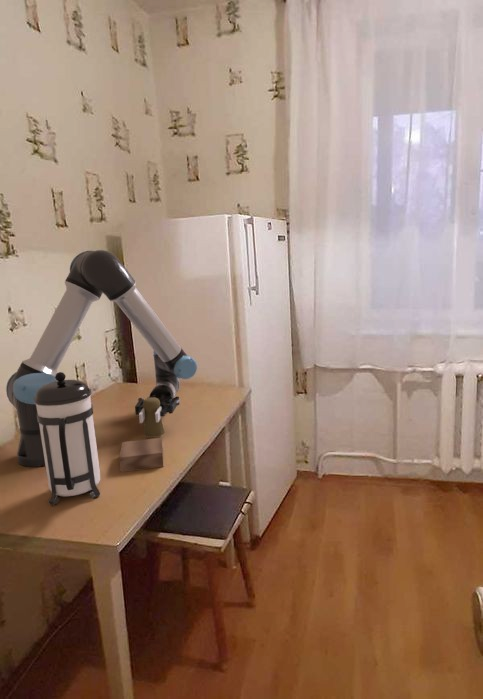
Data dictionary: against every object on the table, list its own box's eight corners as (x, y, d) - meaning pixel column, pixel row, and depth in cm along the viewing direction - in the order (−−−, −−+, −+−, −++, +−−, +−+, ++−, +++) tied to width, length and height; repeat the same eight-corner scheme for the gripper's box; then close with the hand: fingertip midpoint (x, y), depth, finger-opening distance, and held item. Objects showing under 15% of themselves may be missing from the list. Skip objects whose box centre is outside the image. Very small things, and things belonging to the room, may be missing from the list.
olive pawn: (166, 429, 155) (163, 395, 153) (161, 436, 149) (158, 401, 147) (147, 429, 156) (144, 395, 154) (141, 437, 150) (138, 401, 148)
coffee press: (26, 499, 120) (7, 378, 114) (82, 473, 133) (67, 362, 127) (72, 518, 110) (53, 386, 104) (127, 487, 123) (113, 368, 117)
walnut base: (120, 471, 132) (119, 457, 131) (123, 455, 142) (122, 442, 142) (163, 466, 133) (161, 452, 133) (163, 450, 144) (161, 437, 143)
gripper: (188, 404, 169) (179, 429, 146) (138, 407, 170) (120, 431, 147) (187, 383, 168) (177, 404, 145) (136, 385, 168) (118, 407, 145)
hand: (148, 418), depth 146 cm, fingers closed on olive pawn, 4 cm apart
